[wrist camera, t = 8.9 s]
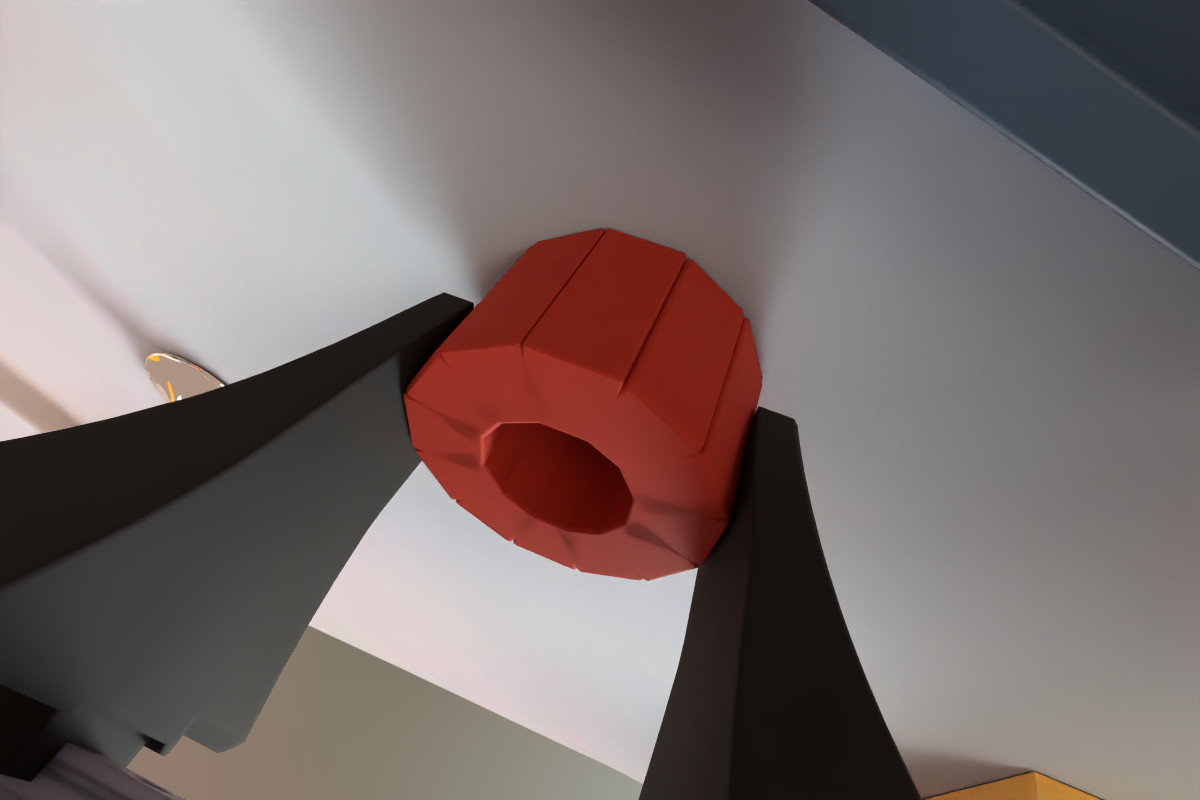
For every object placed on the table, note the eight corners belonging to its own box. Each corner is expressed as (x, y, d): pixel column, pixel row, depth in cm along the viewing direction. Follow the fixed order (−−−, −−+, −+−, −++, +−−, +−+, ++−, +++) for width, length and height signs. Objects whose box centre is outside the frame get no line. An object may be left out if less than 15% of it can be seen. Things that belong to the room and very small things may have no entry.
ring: (808, 292, 8) (782, 439, 6) (710, 483, 12) (673, 614, 10) (499, 190, 9) (382, 292, 7) (497, 400, 13) (422, 507, 11)
